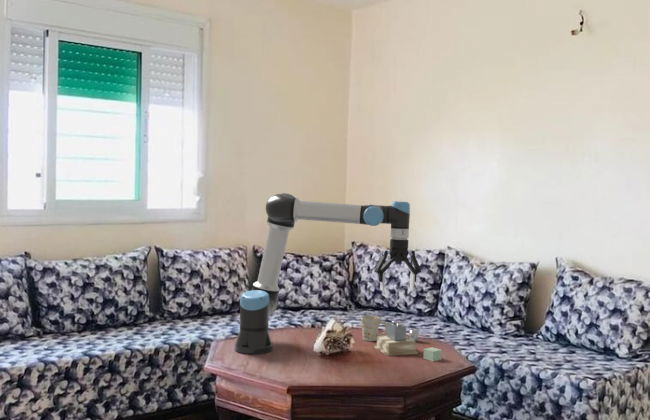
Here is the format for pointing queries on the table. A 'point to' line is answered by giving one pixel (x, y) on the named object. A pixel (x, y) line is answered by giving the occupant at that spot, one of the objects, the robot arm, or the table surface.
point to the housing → (396, 331)
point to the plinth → (395, 346)
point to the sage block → (432, 354)
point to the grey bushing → (413, 334)
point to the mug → (371, 327)
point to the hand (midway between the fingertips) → (397, 289)
